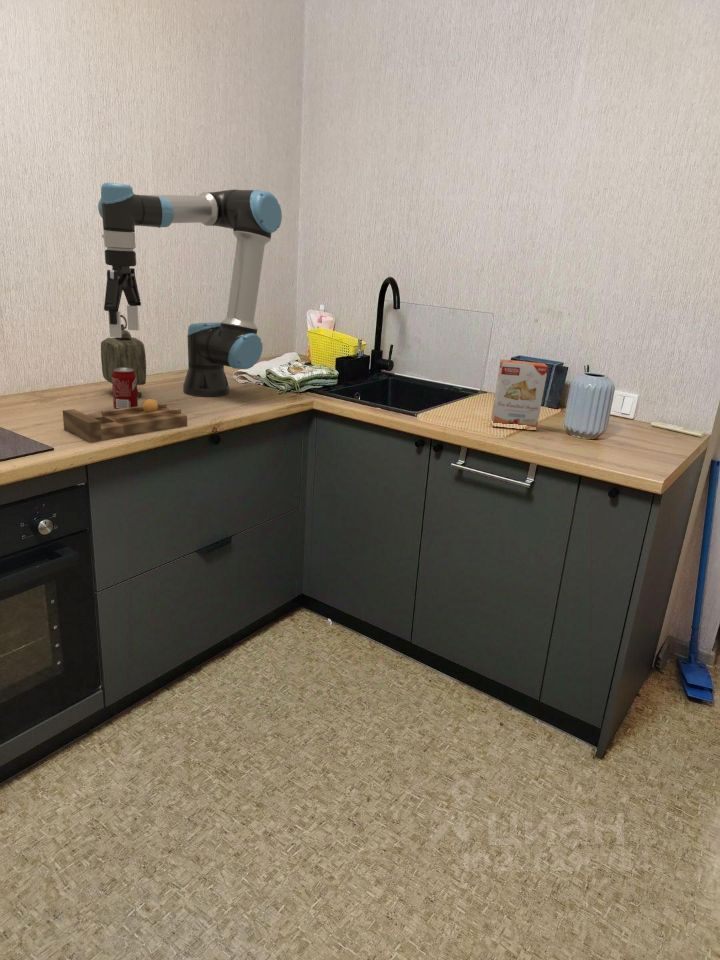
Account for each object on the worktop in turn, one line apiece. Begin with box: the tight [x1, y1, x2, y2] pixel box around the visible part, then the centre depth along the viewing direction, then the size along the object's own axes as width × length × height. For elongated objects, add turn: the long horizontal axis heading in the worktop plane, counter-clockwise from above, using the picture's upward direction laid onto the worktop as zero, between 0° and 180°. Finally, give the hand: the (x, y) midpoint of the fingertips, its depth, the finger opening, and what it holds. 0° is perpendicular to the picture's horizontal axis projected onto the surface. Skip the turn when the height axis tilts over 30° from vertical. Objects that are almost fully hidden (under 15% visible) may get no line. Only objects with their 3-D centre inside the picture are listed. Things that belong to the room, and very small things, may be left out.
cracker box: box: [490, 359, 549, 428], centre depth 204 cm, size 14×6×21 cm, turn 86°
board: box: [62, 402, 188, 443], centre depth 174 cm, size 28×14×5 cm, turn 138°
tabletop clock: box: [100, 314, 147, 398], centre depth 205 cm, size 14×9×25 cm, turn 40°
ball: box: [142, 398, 159, 413], centre depth 179 cm, size 4×4×4 cm
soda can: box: [111, 368, 139, 410], centre depth 190 cm, size 7×7×12 cm
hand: (124, 333), depth 174 cm, fingers open, 13 cm apart
